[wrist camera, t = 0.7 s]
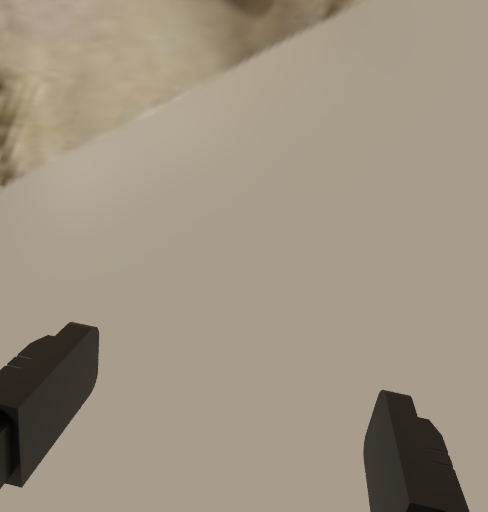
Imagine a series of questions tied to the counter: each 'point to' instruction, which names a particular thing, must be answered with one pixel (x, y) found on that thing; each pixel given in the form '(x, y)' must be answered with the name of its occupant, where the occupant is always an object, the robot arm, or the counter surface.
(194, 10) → the counter surface
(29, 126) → the counter surface
